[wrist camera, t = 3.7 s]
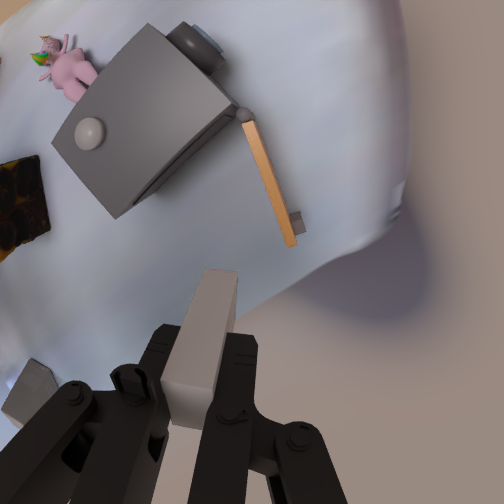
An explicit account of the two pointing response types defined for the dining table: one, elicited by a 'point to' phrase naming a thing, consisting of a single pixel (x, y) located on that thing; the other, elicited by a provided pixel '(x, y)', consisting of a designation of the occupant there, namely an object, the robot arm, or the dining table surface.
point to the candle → (21, 204)
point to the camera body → (145, 115)
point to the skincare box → (29, 393)
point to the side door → (271, 180)
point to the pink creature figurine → (65, 67)
